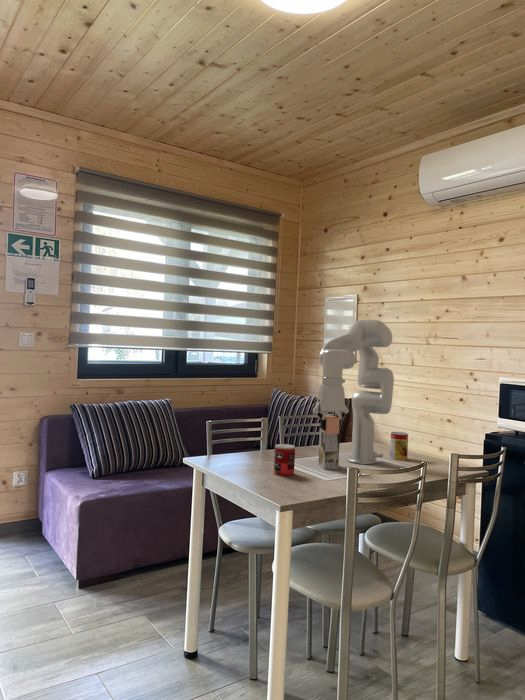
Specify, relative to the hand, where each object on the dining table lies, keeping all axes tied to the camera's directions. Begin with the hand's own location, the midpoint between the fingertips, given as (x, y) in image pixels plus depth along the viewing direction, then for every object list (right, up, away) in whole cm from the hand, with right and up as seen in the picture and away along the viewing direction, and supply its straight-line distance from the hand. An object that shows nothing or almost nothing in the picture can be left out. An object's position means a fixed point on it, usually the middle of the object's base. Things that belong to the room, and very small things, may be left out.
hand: (330, 429), depth 200 cm
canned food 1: (-17, -19, +6) cm, 26 cm away
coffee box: (+2, -19, +22) cm, 29 cm away
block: (0, -1, 0) cm, 1 cm away
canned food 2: (+38, -21, +45) cm, 62 cm away
